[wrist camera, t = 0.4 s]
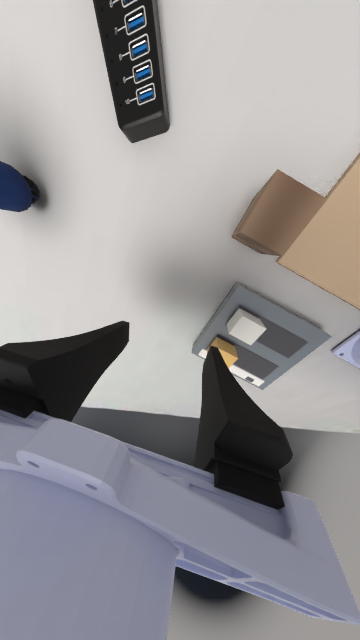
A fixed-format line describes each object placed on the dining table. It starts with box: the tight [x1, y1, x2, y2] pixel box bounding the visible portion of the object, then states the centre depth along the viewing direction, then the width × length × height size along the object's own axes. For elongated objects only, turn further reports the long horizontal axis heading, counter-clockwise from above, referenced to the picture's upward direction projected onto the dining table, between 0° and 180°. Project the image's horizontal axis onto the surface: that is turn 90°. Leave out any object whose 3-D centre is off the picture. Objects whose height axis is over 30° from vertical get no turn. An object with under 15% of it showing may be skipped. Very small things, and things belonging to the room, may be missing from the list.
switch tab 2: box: [227, 308, 266, 345], centre depth 17 cm, size 3×3×2 cm
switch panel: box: [192, 282, 331, 390], centre depth 21 cm, size 13×12×2 cm
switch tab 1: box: [207, 337, 238, 368], centre depth 20 cm, size 3×3×2 cm
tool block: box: [232, 169, 327, 256], centre depth 13 cm, size 4×4×6 cm
